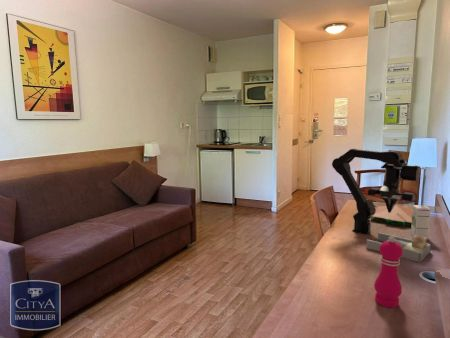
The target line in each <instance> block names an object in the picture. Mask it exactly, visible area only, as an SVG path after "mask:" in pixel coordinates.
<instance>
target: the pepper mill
mask: <svg viewBox="0 0 450 338" xmlns="http://www.w3.org/2000/svg"><path fill="white" fill-rule="evenodd" d="M388 240H389V241H385V242H383V243H382V244H381V245H380V248H379V251H378V252H379V253H380V255H381V256H380V263H381V269H380V272H379V274H378V275H377V277H376V279H375V280H374V285H373V288H374V290H375V296H374V300H375V302H376V303H377V304H378V305H380V306H383V307H386V308H397V307H398V306H399V305H400V304H399V302H400V298H399V297H400V296H401V295H402V293H403V287H402V284H401V281H400V279H399V274H398V268H399V266H400V265H401V263H400V262H401V258H402V257H401V256H402V254H403V250H402V247H401V246H400V245H399V244H398V243H396V242H395V238H394V237H392V236H391V237H389V238H388Z"/></svg>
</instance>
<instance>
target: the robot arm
mask: <svg viewBox="0 0 450 338" xmlns="http://www.w3.org/2000/svg"><path fill="white" fill-rule="evenodd" d="M355 158H357V159H358V158H360V159H365V160H366V159H368V160H374V161H375V160H376V161H380V162H382V163H384V164H383V165H382V166H381V167H380V168H381V169H385V177H384V181H383V185H382V186H381V188H379V187H371V188H369V189H368V190H367V195H369V196H374V197H375V196H376V195H379V196H380V199H382V200H383V201H384V203H385V206H387V210H388V212H389V213H391V211H392V209H393V207H394V205H397V204H396V203H397V202H398V201H400V200H401V199H402V200H403V201H406V202H407V201H408V202H413V201H415V200H416V194H415V193H414V192H409V191H405V192H403V193H402V192H400V190H399V188H400V181H401V180H400V179H402V181H406V182H407V181H408V182H414V183H415V182H419V180H420V176H421V173H420V167H419V165H408V164H407V163H406V161H405V160H404V158H403V153H401V152H400V151H398V150H391V151H390V150H389V151H377V150H375V151H374V150H368V149H366V150H364V149H357V148H351V149H350V148H349V150H348V151H347V152H345V153H344V154H341V155H340V156H339V157H336V158H334V159H333V160H332V162H331V166H332V168H333V169H334V170H335V172H336V173H337V174H339V175H340V176H341V177H342V179H343V181H344V183H345V184H346V186H347V188H348V190H349V192H350V193H351V195H352V197H353V199H354V201H355V205H356V210H357V212H356V213H354V215H353V216H352V217H353V220H354V226H353V229H352V232H354V233H359V234H363V235H367V234H369V233H370V232H371V228H372V227H371V226H372V223H371V216H373V215H374V214H375V212H376V209H377V206H376V205H375V204H374V202H373V200H372V199H369V200H368V199H367V198H366V197H365V195H364V193H363V191H362V190H361V187H360V186H359V185H358V182H357V181H356V179H355V177H354V176H353V173H352V171H351V164H350V163H351V162H352V161H353V160H354V159H355Z"/></svg>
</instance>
